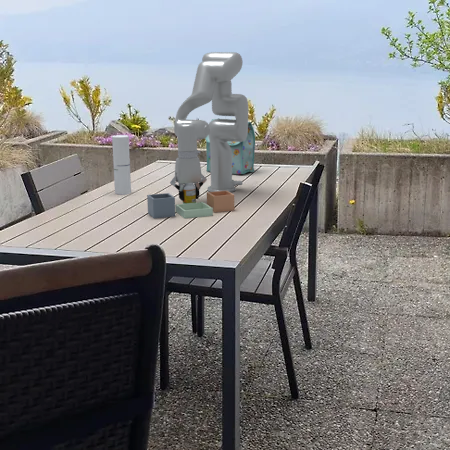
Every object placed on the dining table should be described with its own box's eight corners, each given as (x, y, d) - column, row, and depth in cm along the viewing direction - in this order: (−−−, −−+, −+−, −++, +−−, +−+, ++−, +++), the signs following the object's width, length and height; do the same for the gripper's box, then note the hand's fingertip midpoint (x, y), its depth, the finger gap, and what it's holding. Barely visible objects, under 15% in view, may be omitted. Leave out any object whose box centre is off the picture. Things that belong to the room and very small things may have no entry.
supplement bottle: (182, 202, 274) (181, 178, 271) (195, 201, 274) (195, 178, 271) (182, 205, 269) (182, 181, 266) (196, 205, 269) (195, 181, 266)
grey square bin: (169, 213, 262) (168, 193, 260) (175, 218, 255) (174, 197, 253) (147, 215, 259) (147, 194, 257) (153, 220, 252) (153, 199, 250)
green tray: (203, 210, 266) (202, 202, 265) (212, 217, 255) (212, 208, 254) (175, 213, 262) (175, 204, 261) (184, 220, 252) (184, 210, 251)
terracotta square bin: (226, 207, 271) (226, 190, 269) (234, 212, 263) (234, 194, 261) (206, 209, 268) (206, 192, 266) (214, 214, 260) (214, 196, 258)
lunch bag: (202, 172, 345) (202, 119, 338) (219, 167, 358) (219, 116, 351) (241, 176, 333) (241, 121, 326) (257, 171, 347) (258, 118, 340)
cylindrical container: (128, 194, 295) (125, 137, 288) (112, 194, 296) (109, 137, 290) (133, 191, 302) (131, 135, 295) (118, 190, 303) (115, 135, 297)
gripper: (205, 151, 272) (206, 195, 277) (164, 154, 266) (166, 199, 271) (211, 154, 265) (212, 199, 271) (169, 158, 259) (171, 203, 265)
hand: (189, 198), depth 271 cm, fingers closed on supplement bottle, 5 cm apart
